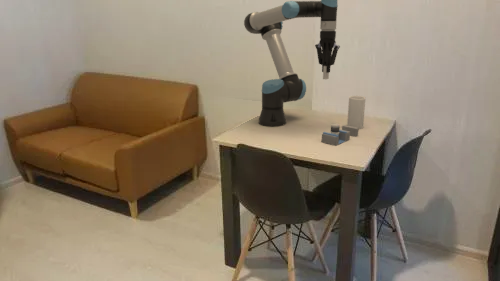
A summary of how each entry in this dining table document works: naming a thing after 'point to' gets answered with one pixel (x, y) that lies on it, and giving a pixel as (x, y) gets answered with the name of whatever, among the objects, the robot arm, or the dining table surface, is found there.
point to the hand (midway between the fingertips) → (325, 78)
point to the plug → (335, 128)
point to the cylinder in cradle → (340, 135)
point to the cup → (356, 111)
